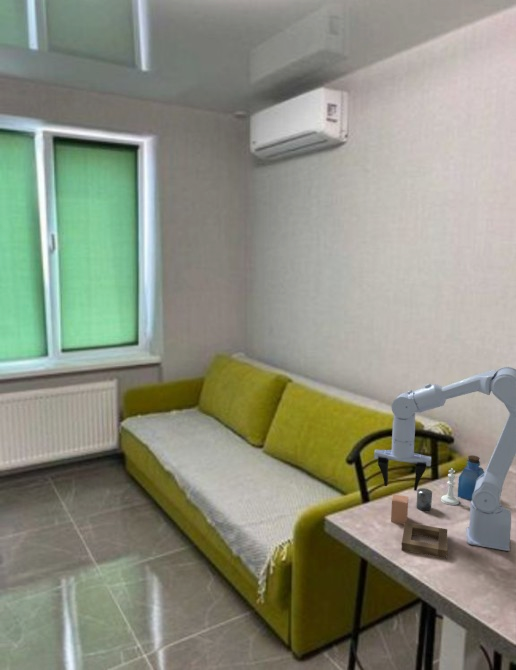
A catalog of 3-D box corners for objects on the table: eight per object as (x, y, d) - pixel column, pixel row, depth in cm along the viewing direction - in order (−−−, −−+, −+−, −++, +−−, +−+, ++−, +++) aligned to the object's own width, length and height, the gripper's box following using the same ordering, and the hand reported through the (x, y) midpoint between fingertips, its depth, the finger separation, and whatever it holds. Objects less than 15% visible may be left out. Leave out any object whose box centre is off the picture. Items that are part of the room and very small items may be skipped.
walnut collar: (446, 536, 133) (447, 529, 132) (446, 558, 123) (447, 550, 123) (404, 529, 136) (405, 521, 136) (401, 550, 126) (401, 542, 126)
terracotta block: (407, 517, 142) (408, 496, 141) (406, 524, 139) (407, 503, 138) (392, 514, 144) (393, 494, 143) (390, 521, 140) (391, 500, 139)
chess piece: (460, 505, 149) (462, 472, 147) (442, 504, 150) (444, 471, 148) (457, 498, 154) (459, 466, 152) (439, 496, 155) (441, 464, 153)
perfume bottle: (463, 489, 160) (465, 451, 158) (484, 494, 156) (487, 456, 154) (457, 496, 155) (460, 458, 153) (479, 502, 151) (482, 463, 149)
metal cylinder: (431, 506, 149) (432, 489, 148) (430, 512, 145) (431, 495, 144) (416, 503, 150) (417, 487, 149) (416, 510, 146) (416, 493, 146)
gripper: (432, 437, 139) (429, 484, 141) (377, 430, 144) (375, 476, 146) (431, 446, 132) (428, 496, 134) (373, 438, 137) (371, 487, 139)
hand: (400, 486), depth 140 cm, fingers open, 7 cm apart
